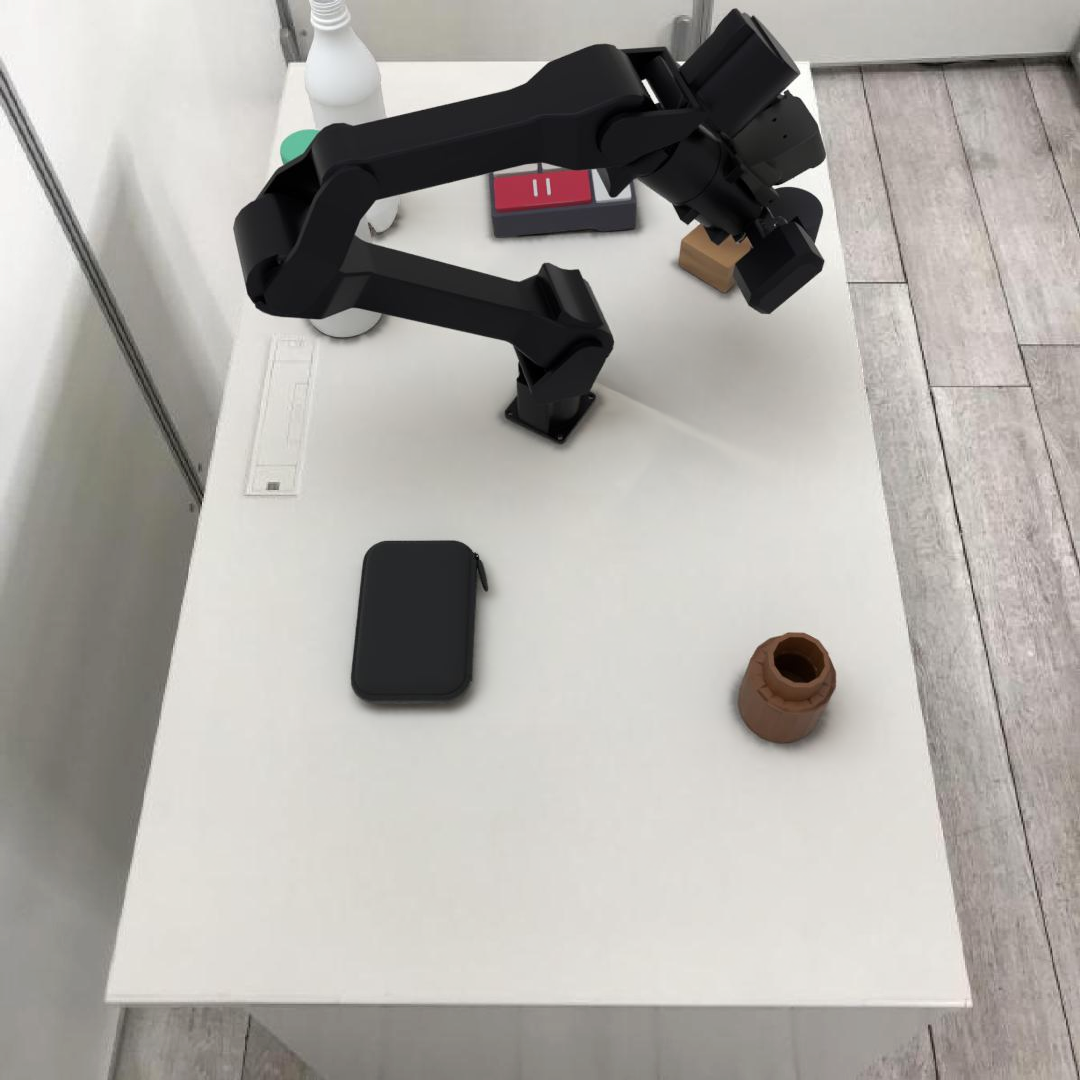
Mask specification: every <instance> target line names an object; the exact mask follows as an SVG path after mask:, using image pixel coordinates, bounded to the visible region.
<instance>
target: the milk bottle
mask: <svg viewBox="0 0 1080 1080" xmlns="http://www.w3.org/2000/svg"><path fill="white" fill-rule="evenodd" d="M319 132H320V131H319V130H315V129H314V128H313V129H311V128H310V129H301V130H297V131H295V132H292V133H291V134H289V135H287V136H286V137H285V138H284V139H283V140H282V142H281V144H280V148H279V153H280V158H281V163H282V166H283V165H284V164H286V163H288V162H289V161H291V160H293V159H294V158H296V157H298V156H299V155H301V154H303V153H304V152H305V150H306V149H307V147H308V146H309V145H310V143H311V142H312V140H313V139H314V138H315V136H316V135H317V134H318V133H319ZM355 235H356V236H357V237H358V238H360V239H361V240H363V241H366V242H368V243H372V244H374V243H373V239H372V234H371V229H370V226H369V223H368V222H367V218H366V214H365V215H364V216H363V218H362V219H361V220H360V223H359V225H358V228H357V230H356V233H355ZM382 315H383V314H380V313H376V312H371V311H367V310H362V309H357V308H350V309H348V310H345V311H343V312H340V313H337V314H335V315H332V316H330V317H327V318H324V319H321V320H316V319H309V322H310V323H311V324H312V325H313V326H314V327H315V328H316V329H317V330H318V331H320V332H321V333H323V334H325V335H328V336H331V337H337V338H351V337H356V336H358V335H362V334H364V333H365V332H368V331H369V330H370V329H372V328H373V327H374V326H375V325H377V323H378V322H379V320H380V319H381V317H382Z"/></svg>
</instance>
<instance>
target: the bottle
mask: <svg viewBox="0 0 1080 1080" xmlns="http://www.w3.org/2000/svg"><path fill="white" fill-rule="evenodd" d="M836 688H837V671H836V669H835V665H834V663H833V661H832V659H831V657H830V654H829V652H828V650H827V649H826V648H825V646H824V645H823V643H822V642H821V640H819V639H817V638H815V637H814V636H812V635H810V634H808V633H806V632H797V631H796V632H795V631H794V632H793V631H792V632H791V631H790V632H789V631H788V632H786V633H783V634H782V635H781V634H780V635H778V636H773V637H769V638H767V639H766V640H765V641H764V642H762V643H760V644H759V645H758V646H757V647H756V648H755V650H754V652H753V654H752V655H751V657H750V659H749V661H748V664H747V667H746V670H745V673H744V675H743V679H742V680H741V684H740V687H739V689H738V697H737V705H738V711H739V714H740V717H741V719H742V721H743V722H744V724H745V725H746V727H748V729H749V730H750V731H751V732H753V733H754V734H755V735H757V736H758V737H760V738H762V739H764V740H765V741H769V742H772V743H778V744H789V743H793V742H796V741H799V740H801V739H804V738H805V737H806V736H808V735H809V734H810V733H811V732H812V731H813V730H814V729H815V728H816V726H817V724H818V722H819V721H820V718H821V716H822V714H823V713H824V711H825V709H826V707H827V706H828V704H829V703H830V700H831V698H832V696H833V694H834V692H835V691H836Z"/></svg>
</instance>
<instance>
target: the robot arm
mask: <svg viewBox="0 0 1080 1080" xmlns="http://www.w3.org/2000/svg"><path fill="white" fill-rule="evenodd" d="M799 76H801V71H800V68H799V67H798V66H797V64H796V63H795V61H794V60H793V58H792V57H791V56H790V54H789V53H788V52H787V51H786V49H785V48H784V47H783V45H782V44H781V43H780V42H779V40H777V38H776V37H775V36H774V35H773V34H772V32H770V30H769V29H768V28H767V27H766V26H765V25H764V23H762V21H760V20H759V19H758V17H756V16H755V15H754V14H752V15H749V14H748V13H747V12H745V11H744V12H742V11H740V9H738V8H737V7H734V8H731V10H729V12H728V13H727V14H726V15H725V16H724V17H723V18H722V19H721V20H720V21H719V23H718V24H717V26H716V27H715V29H714V30H713V32H712V33H711V34H710V35H709V36H708V37H707V38H706V39H705V41H703V42H702V43H701V45H699V47H698V48H697V49H696V50H695V51H694V52H693V53H692V54H691V55H690V56H689V57H688V58H687V60H686V61H685V62H683V64H682V65H681V64H680V63H679V62H677V61H676V59H675V58H674V57H673V55H672V54H671V52H670V51H669V49H668V47H667V46H665V45H664V46H650V47H649V46H648V47H633V48H617V46H616V45H614V44H611V43H595V44H592V45H589V46H586V47H583V48H580V49H578V50H576V51H573V52H570V53H568V54H565V55H563V56H560V57H558V58H555V59H552V60H550V61H548V62H547V63H546V64H544V65H543V66H542V67H541V68H540V69H539V70H538V71H537V72H536V73H535V74H534V75H533V76H532V77H531V78H529V79H528V80H527V81H526V82H525V83H522V84H520V85H518V86H515V87H512V88H510V89H506V90H501V91H498V92H492V93H489V94H484V95H480V96H476V97H472V98H467V99H463V100H459V101H455V102H451V103H446V104H441V105H436V106H433V107H428V108H424V109H419V110H416V111H411V112H407V113H403V114H398V115H394V116H389V117H387V118H385V119H380V120H376V121H372V122H367V123H363V124H359V125H354V126H353V125H349V124H346V123H333V124H331V125H328V126H326V127H324V128H323V129H322V130H321V131H320V132H319V133H318V134H317V135H316V136H315V138H314V139H313V140H312V142H311V143H310V145H309V146H308V147H307V149H306V150H305V152H304V153H303V154H301V155H299V156H298V157H296V158H294V159H293V160H291V161H289V162H288V163H286V164H284V165H283V164H282V165H281V166H279V167H278V168H277V169H276V170H275V171H274V172H273V173H272V175H271V176H270V177H269V179H268V181H267V182H266V184H265V185H264V187H262V189H261V190H260V192H259V193H258V195H257V196H256V198H255V199H254V200H252V201H250V202H248V203H247V204H245V206H243V207H242V208H241V209H240V210H239V212H238V214H237V215H236V216H235V218H234V222H233V226H232V230H233V235H234V236H233V237H234V241H235V246H236V250H237V254H238V258H239V263H240V267H241V272H242V277H243V281H244V286H245V290H246V293H247V294H246V295H247V297H248V298H249V299H250V301H251V302H252V303H253V305H254V308H255V309H256V310H258V311H259V312H261V313H263V314H266V315H269V316H272V317H277V318H291V319H303V320H310V319H316V320H321V319H324V318H327V317H330V316H332V315H335V314H337V313H340V312H343V311H345V310H348V309H350V308H357V309H362V310H367V311H371V312H376V313H380V314H382V315H386V316H390V317H394V318H399V319H403V320H408V321H411V322H412V321H413V322H417V323H422V324H426V325H431V326H435V327H439V328H445V329H449V330H453V331H457V332H462V333H467V334H471V335H476V336H480V337H485V338H489V339H492V340H493V339H494V340H499V341H503V342H506V343H508V344H510V345H512V347H513V350H514V352H515V354H516V358H517V360H518V363H517V373H518V376H517V378H516V396H515V397H514V399H513V400H512V401H511V402H510V404H509V405H508V406H507V407H506V409H505V410H504V417H505V419H507V420H510V421H511V422H513V423H514V424H517V425H518V426H521V427H523V428H525V429H527V430H529V431H532V432H533V433H536V434H537V435H540V436H542V437H544V438H546V439H547V440H550V441H552V442H554V443H556V444H558V445H562V444H564V443H566V441H567V440H568V439H569V437H570V436H571V434H572V433H573V432H574V430H575V429H576V428H577V426H578V425H579V424H580V423H581V421H582V420H583V419H584V417H585V416H586V414H587V413H588V412H589V410H590V409H591V408H592V407H593V405H594V404H595V403H596V400H597V394H596V393H594V392H592V391H591V390H592V388H593V386H594V385H595V382H596V380H597V379H598V377H599V374H600V372H601V371H602V369H603V367H604V365H605V363H606V360H607V359H608V358H609V357H610V355H611V353H612V352H613V350H614V346H615V339H614V335H613V332H612V330H611V327H610V326H609V324H608V322H607V319H606V317H605V315H604V312H603V311H602V308H601V307H600V304H599V302H598V300H597V298H596V296H595V293H594V291H593V289H592V286H591V285H590V282H589V281H587V279H586V278H584V277H583V274H582V272H581V270H580V268H575V269H568V268H561V267H559V266H557V265H556V264H553V263H551V262H543V263H542V264H541V266H540V268H539V270H538V272H537V274H534V275H532V276H529V277H527V278H525V279H522V280H520V281H518V280H512V279H509V278H504V277H502V276H501V277H500V276H497V275H493V274H490V273H485V272H482V271H477V270H474V269H471V268H467V267H463V266H459V265H455V264H451V263H448V262H444V261H440V260H437V259H432V258H429V257H425V256H420V255H418V254H413V253H410V252H406V251H402V250H399V249H395V248H390V247H386V246H383V245H379V244H376V243H373V242H372V243H373V244H372V243H368V242H366V241H363V240H361V239H360V238H358V237H357V236H356V235H355V233H356V230H357V228H358V225H359V223H360V220H361V219H362V218H363V216H364V215H365V214H366V213H367V211H368V210H369V209H370V207H371V206H372V205H373V204H374V202H375V201H376V200H380V199H384V198H389V197H393V196H397V195H400V196H402V195H405V194H409V193H413V192H418V191H422V190H426V189H430V188H434V187H438V186H443V185H446V184H450V183H455V182H459V181H463V180H467V179H471V178H476V177H480V176H484V175H489V173H493V172H497V171H501V170H505V169H509V168H514V167H518V166H522V165H527V164H537V163H545V164H549V165H553V166H557V167H561V168H565V169H569V170H573V171H581V170H592V169H596V170H597V172H598V174H599V176H600V178H601V180H602V182H603V184H604V186H605V188H606V190H607V192H608V194H609V196H610V197H611V198H615V197H617V196H618V195H619V194H620V193H621V192H622V191H623V190H624V189H625V188H626V187H627V186H628V185H629V184H630V183H631V182H632V181H633V182H634V180H637V181H639V182H640V183H642V184H643V185H644V186H646V187H647V188H649V189H650V190H652V191H653V192H655V194H657V195H658V196H660V197H662V198H663V199H665V200H666V201H667V202H669V203H670V204H671V205H672V207H673V209H674V211H675V213H676V215H677V217H678V219H679V220H680V221H681V222H683V224H685V225H687V226H689V225H690V224H691V223H693V222H694V220H695V221H696V222H698V223H699V224H702V225H703V227H704V229H705V231H706V232H707V234H708V236H709V238H710V240H711V241H712V242H713V243H715V244H716V245H718V246H719V245H720V244H721V243H722V242H723V241H724V240H725V239H726V238H728V237H729V236H730V235H731V236H732V238H733V240H734V241H735V242H736V243H737V244H740V243H741V242H742V241H743V240H744V239H745V238H746V237H748V239H749V241H750V245H751V247H752V249H751V250H750V251H749V252H748V253H747V254H745V255H744V256H743V257H742V258H741V259H740V260H739V261H737V262H736V263H735V266H734V271H733V278H734V279H735V281H736V283H735V284H736V285H737V287H738V289H739V290H740V293H741V294H742V297H743V298H744V300H745V302H746V304H747V306H748V307H750V308H751V309H753V310H754V311H756V312H758V313H759V314H761V315H771V314H772V313H773V312H774V311H776V310H777V309H778V308H779V307H781V306H782V305H783V304H784V303H786V302H787V300H789V299H790V298H792V296H794V295H795V294H796V293H797V292H799V291H800V290H801V289H802V288H803V287H804V286H806V285H807V284H808V283H809V282H810V281H812V280H813V279H814V278H815V277H817V276H818V275H819V274H820V273H822V271H823V268H824V265H825V262H826V261H825V258H824V257H823V255H822V253H821V252H820V251H819V249H818V247H817V246H816V243H815V244H814V242H813V240H812V239H811V237H810V236H809V234H808V232H807V230H806V229H805V227H804V225H803V224H802V222H801V220H800V219H799V217H798V216H796V217H795V218H793V219H792V220H791V221H790V222H789V223H787V221H786V220H785V219H784V218H783V217H781V216H778V217H775V218H774V217H773V215H772V213H771V212H770V210H769V208H768V207H769V206H770V205H771V204H772V203H773V202H774V201H775V200H777V199H778V198H779V195H778V193H777V192H776V190H775V189H776V188H774V187H776V186H780V185H783V184H785V183H787V182H789V181H790V180H792V179H794V178H796V177H797V176H799V175H801V174H803V173H805V172H806V171H808V170H810V169H815V168H818V167H819V166H820V165H822V163H824V162H825V160H826V158H827V151H826V148H825V144H824V142H823V138H822V134H821V132H820V127H819V124H818V122H817V120H816V119H815V118H814V116H813V114H812V112H810V110H809V108H808V107H807V106H806V104H805V102H804V101H803V100H802V98H801V97H800V96H796V95H794V94H792V93H791V91H790V89H788V87H789V86H790V85H791V84H792V83H793V82H795V80H797V78H799ZM644 80H645V81H646V82H647V84H648V86H649V88H650V90H651V91H652V93H653V94H654V96H655V98H656V100H657V102H655V101H654V100H653V98H652V97H651V94H650V93H649V91H648V89H647V88H646V86H645V84H644V82H643V81H644ZM782 93H783V94H782ZM758 219H760V220H758ZM759 221H760V222H761V223H762V225H763V226H764V227H762V225H761V223H760V222H759ZM763 228H764V229H766V230H764V229H763Z"/></svg>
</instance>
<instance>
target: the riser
mask: <svg viewBox="0 0 1080 1080" xmlns="http://www.w3.org/2000/svg"><path fill="white" fill-rule="evenodd" d="M750 247H751V245H750V241H749V239H748V237H746V238H745V239H744V240H743V241H742V242H741V243H740V244H737V243H736V242H735V241H734V240H733V238H732V236H731V235H730V236H729V237H728V238H726V239H725V240H724V241H723V242H722V243H721V244H720V245H719V246H718V245H716V244H715V243H713V242H712V241H711V240H710V238H709V236H708V234H707V232H706V231H705V229H704V227H703V225H702V224H701V223H699V224H698V225H697V226H695V228H693V229H692V230H690V232H689V233H687V234H686V235H685V236H684V237H683V238H681V240H680V246H679V255H678V263H677V266H678V267H680V268H682V269H683V270H685V271H687V272H688V273H690V274H691V275H693V276H695V277H696V278H698V279H700V280H701V281H703V282H705V283H706V284H708V285H709V286H711V287H713V288H714V289H716V290H717V291H719V292H721V293H722V294H726V293H727V292H728V291H729V290H730V289H731V288H732V287H733V286H734V285H735V284H737V283H736V281H735V279H734V278H733V271H734V266H735V263H736V262H737V261H739V260H740V259H741V258H742V257H743V256H744V255H745V254H747V253H748V252H749V251H750Z"/></svg>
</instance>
